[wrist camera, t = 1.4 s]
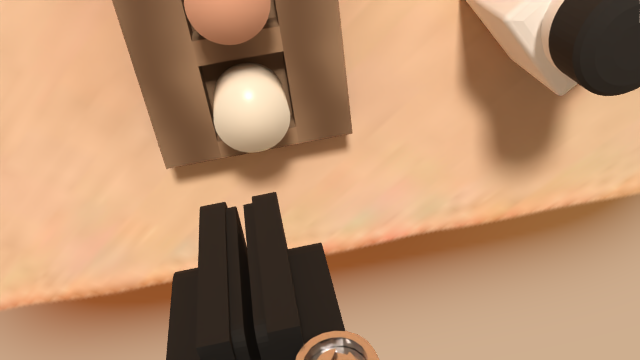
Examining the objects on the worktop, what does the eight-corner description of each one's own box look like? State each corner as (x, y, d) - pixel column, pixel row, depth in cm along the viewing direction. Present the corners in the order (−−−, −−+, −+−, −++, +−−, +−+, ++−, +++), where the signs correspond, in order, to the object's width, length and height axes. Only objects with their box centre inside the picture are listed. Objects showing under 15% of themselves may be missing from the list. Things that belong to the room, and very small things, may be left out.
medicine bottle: (511, 60, 42) (607, 135, 31) (457, -10, 38) (545, 48, 28) (593, -11, 40) (723, 44, 30) (544, -91, 36) (672, -60, 26)
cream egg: (277, 56, 36) (283, 77, 33) (288, 121, 39) (295, 144, 36) (206, 69, 36) (205, 91, 33) (221, 133, 38) (222, 158, 35)
